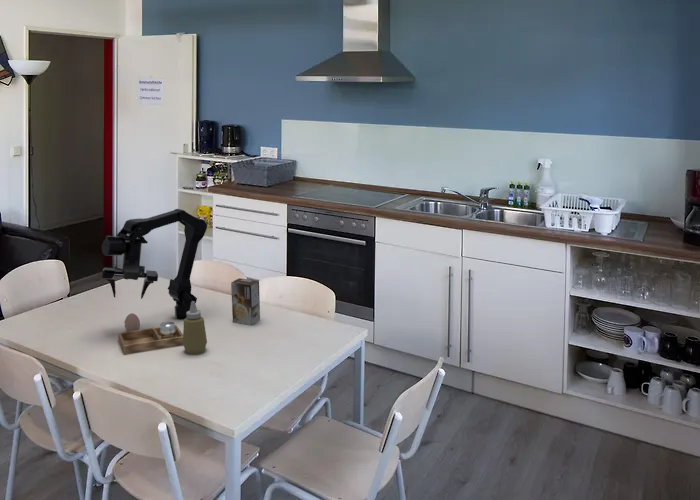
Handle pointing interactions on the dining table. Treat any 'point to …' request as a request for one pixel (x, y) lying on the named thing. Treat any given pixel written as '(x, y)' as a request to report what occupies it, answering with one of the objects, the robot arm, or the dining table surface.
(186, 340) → the squeeze bottle
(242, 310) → the coffee box
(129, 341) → the crate
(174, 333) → the tin
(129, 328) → the egg
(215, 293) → the dining table surface
